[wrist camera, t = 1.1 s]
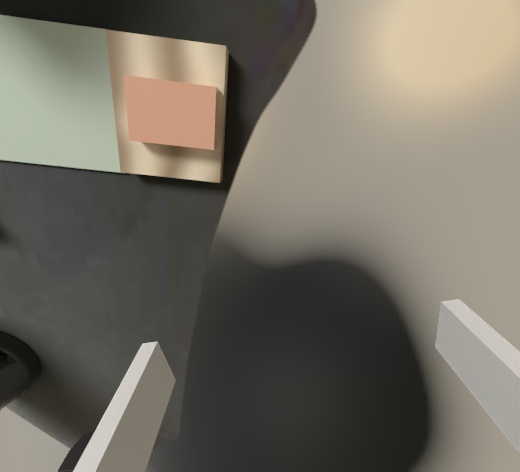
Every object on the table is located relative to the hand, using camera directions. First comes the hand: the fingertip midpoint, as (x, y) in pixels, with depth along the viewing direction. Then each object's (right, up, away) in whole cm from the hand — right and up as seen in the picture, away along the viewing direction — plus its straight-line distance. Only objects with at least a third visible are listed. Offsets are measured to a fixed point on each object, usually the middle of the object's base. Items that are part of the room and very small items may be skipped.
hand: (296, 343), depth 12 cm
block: (-11, +19, +16) cm, 27 cm away
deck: (-12, +20, +18) cm, 29 cm away
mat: (-27, +21, +18) cm, 38 cm away
